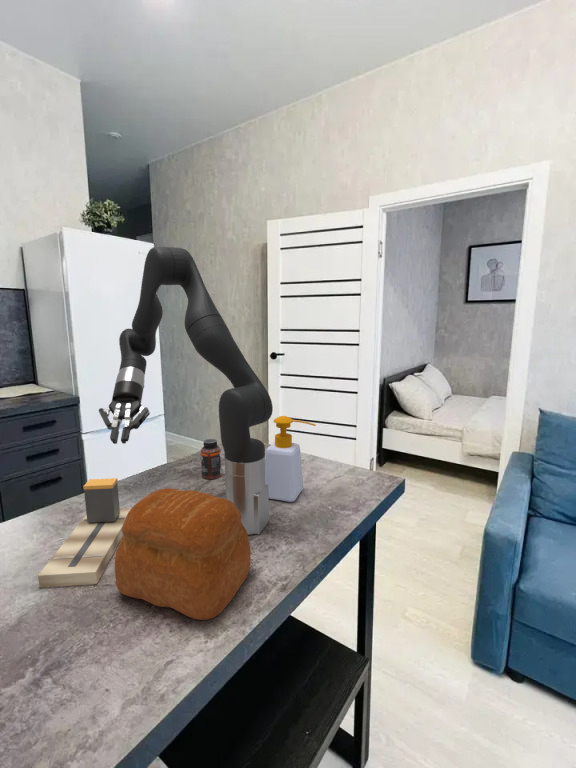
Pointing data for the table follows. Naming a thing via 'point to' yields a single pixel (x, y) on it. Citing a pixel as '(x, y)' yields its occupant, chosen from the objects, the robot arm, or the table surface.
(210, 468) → the supplement bottle
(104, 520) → the fader knob
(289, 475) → the soap bottle
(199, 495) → the bread
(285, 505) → the table surface
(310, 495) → the table surface
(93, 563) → the grooved wooden slider track
